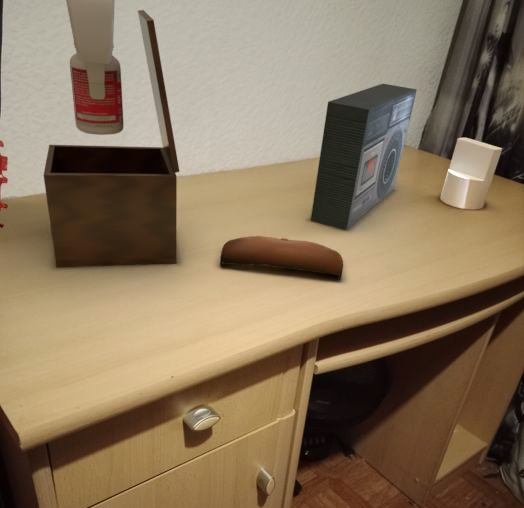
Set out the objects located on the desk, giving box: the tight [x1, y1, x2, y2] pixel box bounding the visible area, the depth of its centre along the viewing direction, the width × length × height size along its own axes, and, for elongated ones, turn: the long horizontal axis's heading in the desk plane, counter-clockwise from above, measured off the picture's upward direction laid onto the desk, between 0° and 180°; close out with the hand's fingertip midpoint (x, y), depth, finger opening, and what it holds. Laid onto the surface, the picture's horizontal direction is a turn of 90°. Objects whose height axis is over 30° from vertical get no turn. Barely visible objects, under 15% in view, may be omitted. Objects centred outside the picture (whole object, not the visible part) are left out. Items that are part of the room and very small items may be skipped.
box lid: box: [137, 9, 180, 174], centre depth 72 cm, size 17×14×1 cm
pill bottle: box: [69, 43, 125, 136], centre depth 70 cm, size 6×6×11 cm
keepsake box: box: [43, 144, 178, 268], centre depth 79 cm, size 17×14×13 cm
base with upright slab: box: [440, 137, 503, 211], centre depth 112 cm, size 9×9×12 cm
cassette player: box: [310, 83, 418, 231], centre depth 102 cm, size 29×7×20 cm, turn 152°
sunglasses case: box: [219, 235, 344, 279], centre depth 81 cm, size 18×7×7 cm, turn 86°
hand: (97, 92), depth 70 cm, fingers closed on pill bottle, 6 cm apart
